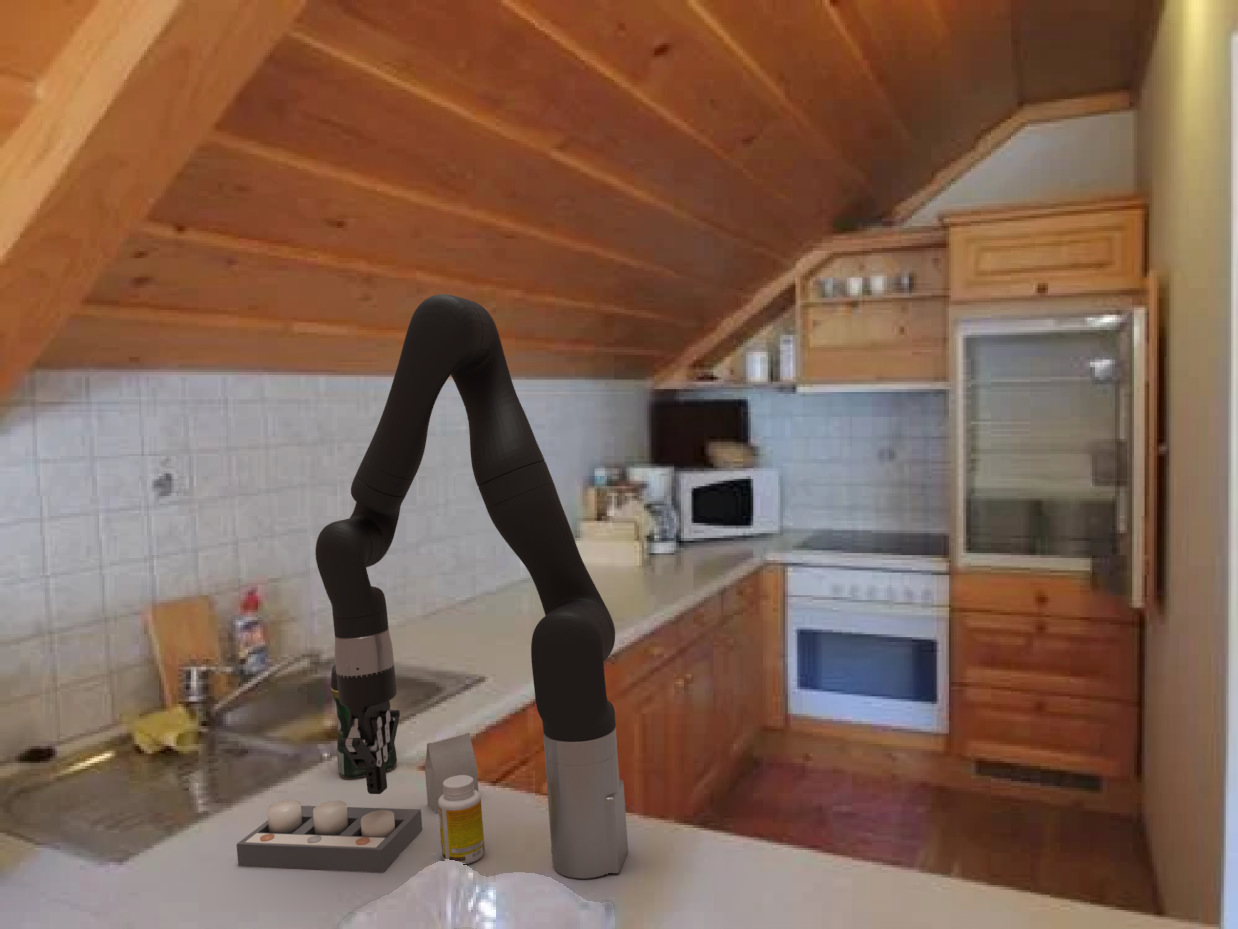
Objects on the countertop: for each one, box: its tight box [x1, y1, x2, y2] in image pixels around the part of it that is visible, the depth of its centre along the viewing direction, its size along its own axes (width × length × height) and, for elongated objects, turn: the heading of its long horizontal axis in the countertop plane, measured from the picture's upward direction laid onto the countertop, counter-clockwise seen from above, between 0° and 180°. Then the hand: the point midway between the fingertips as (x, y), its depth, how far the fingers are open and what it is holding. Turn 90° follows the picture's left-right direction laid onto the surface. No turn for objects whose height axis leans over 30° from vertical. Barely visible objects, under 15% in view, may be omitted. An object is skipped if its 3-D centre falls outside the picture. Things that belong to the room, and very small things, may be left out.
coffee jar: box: [330, 664, 398, 779], centre depth 152 cm, size 10×8×19 cm
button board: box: [236, 805, 423, 873], centre depth 124 cm, size 21×12×3 cm, turn 78°
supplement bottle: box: [438, 775, 485, 865], centre depth 119 cm, size 6×6×10 cm
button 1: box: [266, 799, 302, 834], centre depth 125 cm, size 4×4×3 cm
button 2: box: [361, 810, 395, 837], centre depth 123 cm, size 4×4×3 cm
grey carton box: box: [424, 732, 480, 815], centre depth 136 cm, size 4×7×10 cm, turn 124°
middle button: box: [313, 800, 348, 835], centre depth 124 cm, size 4×4×3 cm
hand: (377, 791), depth 122 cm, fingers closed
